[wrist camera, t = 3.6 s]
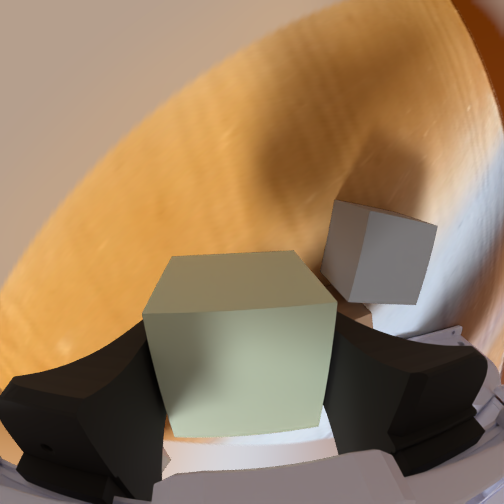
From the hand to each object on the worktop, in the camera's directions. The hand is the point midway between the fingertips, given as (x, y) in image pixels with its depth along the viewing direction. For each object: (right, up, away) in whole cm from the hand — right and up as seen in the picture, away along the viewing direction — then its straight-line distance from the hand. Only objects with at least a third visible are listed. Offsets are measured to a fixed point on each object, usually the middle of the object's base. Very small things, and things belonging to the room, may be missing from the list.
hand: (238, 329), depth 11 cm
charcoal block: (+8, +4, +9) cm, 12 cm away
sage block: (0, +1, +2) cm, 2 cm away
